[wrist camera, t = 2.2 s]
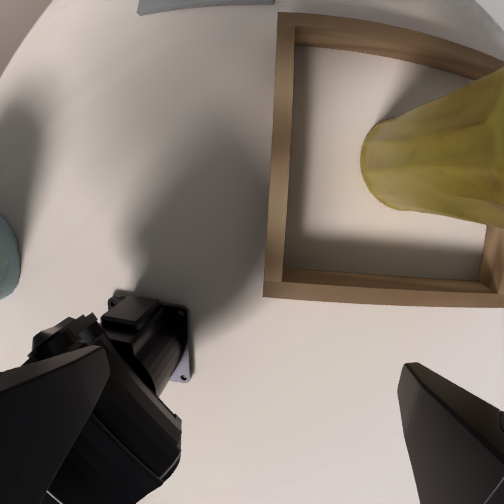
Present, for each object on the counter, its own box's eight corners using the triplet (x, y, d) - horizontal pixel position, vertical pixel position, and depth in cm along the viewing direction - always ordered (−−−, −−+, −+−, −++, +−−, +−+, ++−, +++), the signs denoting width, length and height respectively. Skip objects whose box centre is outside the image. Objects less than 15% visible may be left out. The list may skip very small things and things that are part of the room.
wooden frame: (484, 294, 20) (504, 307, 17) (266, 281, 22) (262, 297, 19) (497, 77, 16) (517, 68, 13) (279, 32, 18) (277, 12, 15)
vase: (445, 130, 18) (602, 92, 4) (436, 217, 19) (596, 272, 5) (363, 110, 18) (475, 8, 5) (354, 202, 20) (472, 246, 6)
